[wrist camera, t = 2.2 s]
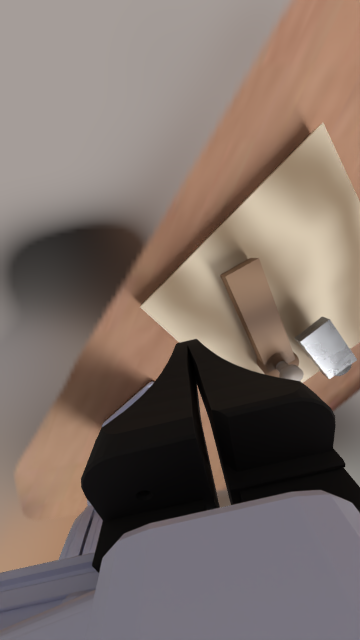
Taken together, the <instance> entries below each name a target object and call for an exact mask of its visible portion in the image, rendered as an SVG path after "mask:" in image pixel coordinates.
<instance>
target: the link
mask: <svg viewBox="0 0 360 640" xmlns="http://www.w3.org/2000/svg"><path fill="white" fill-rule="evenodd" d="M220 276H221V279H222V281H223V283H224V285H225V287H226V290H227V292H228V294H229V296H230V298H231V301H232V303H233V305H234V307H235V309H236V312H237V314H238V316H239V318H240V320H241V323H242V325H243V327H244V329H245V331H246V334H247V336H248V338H249V340H250V342H251V345H252V347H253V349H254V351H255V353H256V356H257V364H258V366H259V368H260V369H261V370H262V371H263V372H264V374H266V375H270V376H274V377H279V378H285V379H291V380H296V381H301V380H302V378H303V375H304V373H303V371H302V369H300V368H299V367H298V366H299V358H298V356H297V355H296V354H295V353H294V352H293V351H292V348H291V345H290V342H289V340H288V337H287V334H286V331H285V329H284V326H283V323H282V320H281V318H280V315H279V312H278V309H277V306H276V304H275V301H274V298H273V295H272V293H271V290H270V287H269V284H268V282H267V279H266V276H265V273H264V270H263V268H262V265H261V262H260V259H259V258H249V259H247V260H246V261H244V262H242V263H240V264H238V265H237V266H235V267H233V268H231V269H230V270H228V271H226V272H224V273H222V274H221V275H220Z"/></svg>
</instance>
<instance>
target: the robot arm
mask: <svg viewBox="0 0 360 640" xmlns="http://www.w3.org/2000/svg"><path fill="white" fill-rule="evenodd" d="M197 385H198V388H199V391H200V394H201V397H202V400H203V403H204V405H205V408H206V411H207V414H208V417H209V420H210V424H211V427H212V431H213V435H214V439H215V443H216V447H217V451H218V455H219V459H220V463H221V467H222V471H223V475H224V479H225V483H226V487H227V491H228V495H229V499H230V502H231V505H230V506H225V507H221V508H220V507H219V503H218V498H217V493H216V488H215V484H214V479H213V474H212V470H211V465H210V460H209V456H208V451H207V446H206V442H205V437H204V432H203V428H202V422H201V416H200V407H199V399H198V391H197ZM148 388H149V389H148ZM334 432H335V415H334V413H333V411H332V410H331V408H330V407H329V406H328V405H327V404H326V403H325V402H324V401H322V400H321V399H320V398H319V397H318V396H317V395H316V394H315V393H314V392H313V391H312V390H310V389H309V388H308V387H307V386H305V385H304V384H303V383H302V382H301V381H296V380H291V379H285V378H279V377H274V376H270V375H266V374H262V373H258V372H255V371H251V370H248V369H246V368H243V367H240V366H238V365H235V364H233V363H231V362H229V361H227V360H225V359H223V358H221V357H220V356H218V355H216V354H215V353H213V352H212V351H211V350H209V349H208V348H207V347H206V346H204V345H203V344H202V343H201V342H200V341H199V340H198V339H193V340H189V341H184V342H180V343H177V344H176V346H175V348H174V351H173V353H172V355H171V357H170V359H169V361H168V363H167V365H166V366H165V368H164V370H163V371H162V373H161V374H160V376H159V377H158V378H157V380H156V381H155V382H149V383H148V384H147V385H146V386H145V387H144V388H142V389H141V390H140V391H139V392H138V393H137V394H136V395H134V396H133V397H132V398H131V399H130V400H129V401H128V402H126V403H125V404H124V405H123V406H122V407H121V408H120V409H119V410H117V411H116V412H115V413H114V414H113V415H112V416H111V417H109V418H108V419H107V420H106V421H105V422H104V423H103V424H102V428H101V430H100V433H99V435H98V437H97V439H96V441H95V444H94V447H93V449H92V452H91V454H90V457H89V460H88V462H87V465H86V467H85V470H84V473H83V475H82V478H81V488H82V490H83V492H84V494H85V496H86V498H87V503H88V506H87V507H86V508H85V510H84V511H83V512H82V513H81V514H80V515H79V516H78V517H77V518H76V519H75V521H74V523H73V525H72V528H71V530H70V532H69V534H68V537H67V539H66V542H65V544H64V547H63V549H62V552H61V555H60V557H59V560H56V561H52V562H47V563H43V564H39V565H34V566H29V567H25V568H20V569H16V570H11V571H7V572H2V573H0V640H360V487H359V486H358V485H357V484H356V482H355V481H354V480H353V479H352V478H351V476H350V475H349V474H348V473H347V471H346V470H345V469H344V468H343V467H345V463H344V461H343V459H342V458H341V457H340V456H339V454H338V453H337V452H336V451H335V450H334V449H333V442H334Z"/></svg>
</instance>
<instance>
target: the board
mask: <svg viewBox="0 0 360 640" xmlns="http://www.w3.org/2000/svg"><path fill="white" fill-rule="evenodd" d="M249 258H259V259H260V262H261V265H262V268H263V270H264V273H265V276H266V279H267V282H268V284H269V287H270V290H271V293H272V295H273V298H274V301H275V304H276V306H277V309H278V312H279V315H280V318H281V320H282V323H283V326H284V329H285V331H286V334H287V337H288V340H289V342H290V345H291V348H292V351H293V352H294V353H295V354H296V355H297V356H298V358H299V366H298V367H299V368H300V369H302V371H303V373H304V375H303V378H302V380H301V382H302V383H303V382H304V381H306V380H307V379H309V378H310V377H311V376H313V375H314V374H316V373H317V372H318V371H320V370H319V369H318V367H317V366H316V365H315V364H314V362H313V361H312V360H311V359H310V358H309V357H308V356H307V354H306V352H305V351H304V350H303V349H302V347H301V346H300V345H299V344H298V342H297V341H296V340H295V339H294V338H295V337H296V336H298V335H299V334H300V333H301V332H303V331H304V330H305V329H307V328H308V327H309V326H310V325H312V324H313V323H314V322H316V321H317V320H318V319H319V318H321V317H325V318H328V319H330V320H331V322H332V323H333V325H334V326H335V328H336V329H337V331H338V332H339V334H340V335H341V337H342V338H343V340H344V341H345V342H346V344H347V345H348V347H349V348H350V349H351V348H352V347H354V346H355V345H357V344H358V343H359V342H360V201H359V199H358V197H357V194H356V192H355V190H354V188H353V186H352V184H351V181H350V179H349V177H348V175H347V173H346V171H345V169H344V166H343V164H342V162H341V160H340V158H339V156H338V153H337V151H336V149H335V147H334V145H333V143H332V140H331V138H330V136H329V134H328V132H327V130H326V128H325V125H324V123H322V124H321V125H320V126H319V127H317V128H316V129H315V130H314V131H313V132H312V133H310V135H309V136H308V137H307V138H306V139H305V140H304V141H303V142H302V143H301V144H300V145H299V146H298V147H297V148H296V149H295V150H294V151H293V152H292V153H291V154H290V155H289V156H288V157H287V158H286V159H285V160H284V161H283V162H282V163H281V164H280V165H279V166H278V167H277V168H276V169H275V170H274V171H273V172H272V173H271V174H270V175H269V176H268V177H267V178H266V179H265V180H264V181H263V182H262V183H261V184H260V185H259V186H258V187H257V188H256V189H255V190H254V191H253V192H252V193H251V194H250V195H249V196H248V197H247V198H246V199H245V200H244V201H243V202H242V203H241V204H240V205H239V206H238V207H237V208H236V209H235V210H234V211H233V212H232V213H231V214H230V216H229V217H228V218H227V219H226V220H225V221H224V222H223V223H222V224H221V225H220V226H219V227H218V228H217V229H216V230H215V231H214V232H213V233H212V234H211V235H210V236H209V237H208V238H207V239H206V240H205V241H204V242H203V243H202V244H201V245H200V246H199V247H198V248H197V249H196V250H195V251H194V252H193V253H192V254H191V255H190V256H189V257H188V258H187V259H186V260H185V261H184V262H183V263H182V264H181V265H180V266H179V267H178V268H177V269H176V270H175V271H174V272H173V273H172V274H171V275H170V276H169V277H168V278H167V279H166V280H165V281H164V282H163V283H162V284H161V285H160V286H159V287H158V288H157V289H156V290H155V291H154V292H153V293H152V294H151V295H150V296H149V298H148V299H147V300H146V301H145V302H144V303H143V304H142V305H141V308H142V309H143V310H144V311H145V312H146V313H147V314H148V315H149V316H150V317H152V318H153V319H154V320H155V321H156V322H157V323H158V324H159V325H160V326H162V327H163V328H164V329H165V330H166V331H167V332H168V333H169V334H170V335H172V336H173V337H174V338H175V339H176V340H177V341H178V342H179V343H180V342H184V341H189V340H193V339H198V340H199V341H200V342H201V343H202V344H203V345H204V346H206V347H207V348H208V349H209V350H211V351H212V352H213V353H215V354H216V355H218V356H220V357H221V358H223V359H225V360H227V361H229V362H231V363H233V364H235V365H238V366H240V367H243V368H246V369H248V370H251V371H255V372H258V373H262V374H264V372H263V371H262V370H261V369H260V368H259V366H258V364H257V356H256V353H255V351H254V349H253V347H252V345H251V342H250V340H249V338H248V336H247V334H246V331H245V329H244V327H243V325H242V323H241V320H240V318H239V316H238V314H237V312H236V309H235V307H234V305H233V303H232V301H231V298H230V296H229V294H228V292H227V290H226V287H225V285H224V283H223V281H222V279H221V276H220V275H221V274H222V273H224V272H226V271H228V270H230V269H231V268H233V267H235V266H237V265H238V264H240V263H242V262H244V261H246V260H247V259H249Z"/></svg>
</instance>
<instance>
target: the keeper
mask: <svg viewBox="0 0 360 640" xmlns="http://www.w3.org/2000/svg"><path fill="white" fill-rule="evenodd" d="M294 339H295V340H296V341H297V342H298V344H299V345H300V346H301V347H302V349H303V350H304V351H305V352H306V354H307V356H308V357H309V358H310V359H311V360H312V361H313V362H314V364H315V365H316V366H317V367H318V369H319V370H320V371H321V372H322V374H323V375H325V376H326V377H327V378H329V379H330V378H332V377H333V376H334V375H335V376H340V375H343V374H345V373H347V372H348V371H349V369H350V368H351V365H352V363H353V362H355V361H356V360H357V359H356V357H355V356H354V354H353V353H352V351H351V350H350V348H349V347H348V345H347V344H346V342H345V341H344V340H343V338H342V337H341V335H340V334H339V332H338V331H337V329H336V328H335V326H334V325H333V323H332V322H331V320H330V319H328V318H325V317H321V318H319V319H318V320H317V321H316V322H314V323H313V324H312V325H310V326H309V327H308V328H307V329H305V330H304V331H303V332H301V333H300V334H299V335H298V336H296V337H295V338H294Z"/></svg>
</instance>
